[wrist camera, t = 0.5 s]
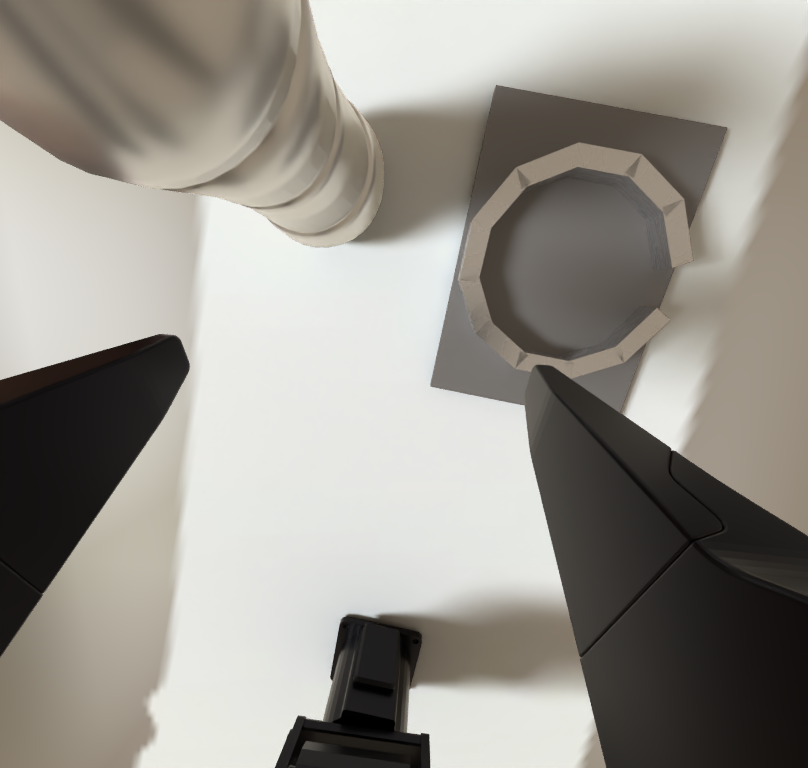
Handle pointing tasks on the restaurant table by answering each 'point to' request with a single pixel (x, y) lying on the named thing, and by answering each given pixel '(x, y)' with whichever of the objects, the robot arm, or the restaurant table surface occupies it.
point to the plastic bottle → (195, 105)
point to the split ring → (642, 193)
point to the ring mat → (565, 241)
